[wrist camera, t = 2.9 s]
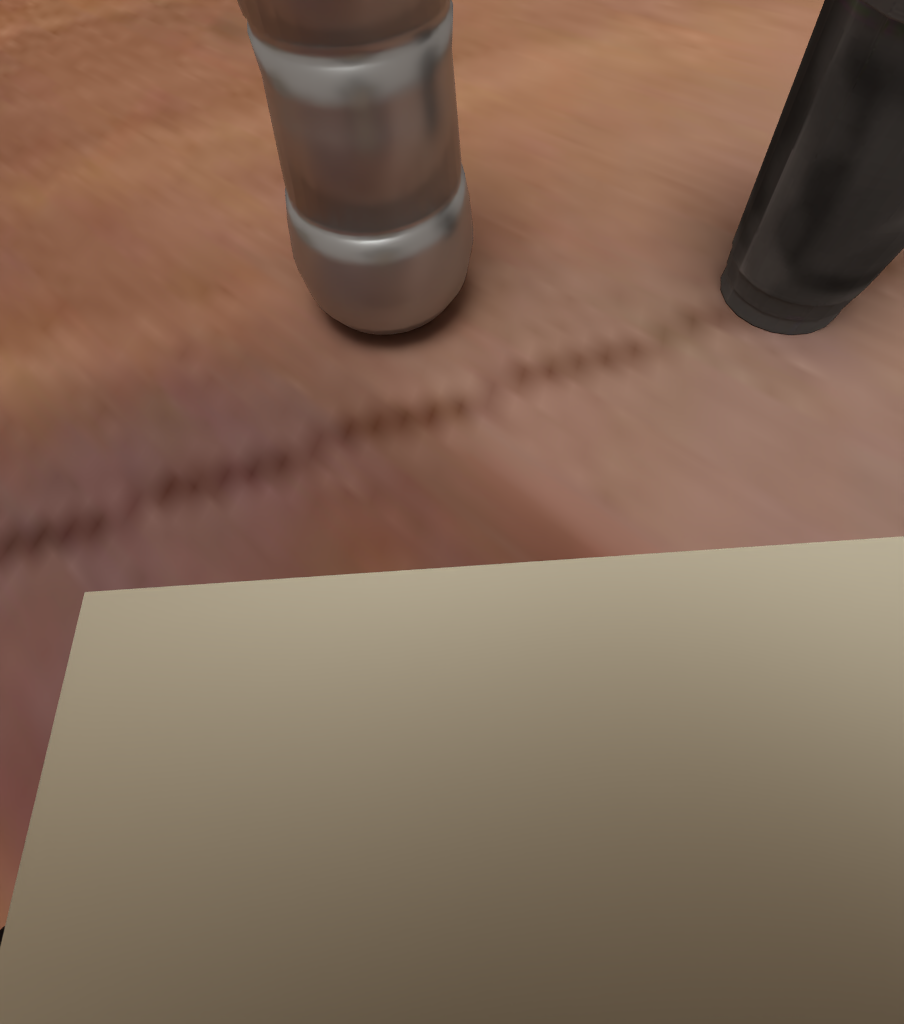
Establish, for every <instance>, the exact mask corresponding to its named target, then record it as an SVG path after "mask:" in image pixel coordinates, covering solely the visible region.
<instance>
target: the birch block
mask: <svg viewBox="0 0 904 1024" xmlns="http://www.w3.org/2000/svg"><path fill="white" fill-rule="evenodd" d="M0 1024H904V537H889V538H874V539H860V540H845V541H830V542H816V543H801V544H786V545H772V546H757V547H742V548H728V549H713V550H698V551H683V552H669V553H654V554H639V555H625V556H610V557H595V558H581V559H566V560H551V561H537V562H522V563H507V564H493V565H478V566H463V567H449V568H434V569H419V570H405V571H390V572H375V573H361V574H346V575H331V576H316V577H302V578H287V579H272V580H258V581H243V582H228V583H214V584H199V585H184V586H170V587H155V588H140V589H126V590H111V591H96V592H85V593H84V598H83V602H82V606H81V610H80V614H79V619H78V623H77V627H76V631H75V635H74V640H73V644H72V648H71V652H70V656H69V661H68V665H67V669H66V673H65V677H64V682H63V686H62V690H61V694H60V698H59V703H58V707H57V711H56V715H55V719H54V724H53V728H52V732H51V736H50V740H49V745H48V749H47V753H46V757H45V761H44V766H43V770H42V774H41V778H40V782H39V787H38V791H37V795H36V799H35V803H34V808H33V812H32V816H31V820H30V824H29V829H28V833H27V837H26V841H25V845H24V850H23V854H22V858H21V862H20V866H19V871H18V875H17V879H16V883H15V887H14V892H13V896H12V900H11V904H10V908H9V912H8V917H7V921H6V925H5V929H4V933H3V938H2V942H1V946H0Z"/></svg>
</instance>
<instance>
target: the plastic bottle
mask: <svg viewBox="0 0 904 1024" xmlns="http://www.w3.org/2000/svg"><path fill="white" fill-rule="evenodd" d="M237 1H238V4H239V7H240V9H241V11H242V14H243V16H244V17H245V18H246V19H247V27H248V35H249V38H250V41H251V44H252V47H253V50H254V53H255V56H256V59H257V62H258V65H259V68H260V71H261V74H262V79H263V84H264V89H265V93H266V98H267V103H268V107H269V112H270V117H271V122H272V126H273V131H274V136H275V141H276V145H277V150H278V155H279V160H280V164H281V169H282V174H283V179H284V183H285V196H286V209H287V222H288V228H289V234H290V240H291V246H292V252H293V257H294V260H295V263H296V266H297V268H298V270H299V272H300V274H301V276H302V278H303V280H304V282H305V284H306V285H307V287H308V289H309V291H310V293H311V295H312V297H313V298H314V300H315V301H316V302H317V304H318V305H319V307H320V308H321V309H323V310H324V311H325V312H326V313H327V314H328V315H330V316H331V317H333V318H334V319H336V320H338V321H339V322H341V323H343V324H344V325H346V326H348V327H350V328H352V329H354V330H358V331H361V332H364V333H370V334H377V335H386V334H397V333H403V332H407V331H410V330H413V329H416V328H419V327H421V326H423V325H425V324H427V323H428V322H430V321H432V320H433V319H434V318H436V317H437V316H438V315H439V314H441V312H442V311H443V310H444V309H445V308H446V307H447V306H448V305H449V303H450V302H451V301H452V300H453V299H454V298H455V297H456V295H457V294H458V293H459V291H460V289H461V287H462V285H463V284H464V281H465V277H466V274H467V269H468V264H469V259H470V254H471V249H472V244H473V223H472V215H471V207H470V198H469V192H468V187H467V182H466V178H465V173H464V170H463V166H462V163H461V151H460V139H459V127H458V115H457V103H456V91H455V79H454V67H453V55H452V25H453V3H452V1H451V0H237Z"/></svg>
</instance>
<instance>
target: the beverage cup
mask: <svg viewBox="0 0 904 1024" xmlns="http://www.w3.org/2000/svg"><path fill="white" fill-rule="evenodd" d="M903 248H904V0H825V1H824V4H823V6H822V9H821V12H820V14H819V17H818V19H817V22H816V25H815V27H814V30H813V33H812V35H811V38H810V40H809V43H808V46H807V48H806V51H805V53H804V56H803V59H802V61H801V64H800V67H799V69H798V72H797V74H796V77H795V80H794V82H793V85H792V88H791V90H790V93H789V95H788V98H787V101H786V103H785V106H784V108H783V111H782V114H781V116H780V119H779V122H778V124H777V127H776V129H775V132H774V135H773V137H772V140H771V143H770V145H769V148H768V150H767V153H766V156H765V158H764V161H763V163H762V166H761V169H760V171H759V174H758V177H757V179H756V182H755V184H754V187H753V190H752V192H751V195H750V197H749V200H748V203H747V205H746V208H745V211H744V213H743V216H742V218H741V221H740V224H739V226H738V229H737V232H736V234H735V237H734V239H733V242H732V249H731V252H730V255H729V258H728V261H727V266H726V268H725V270H724V272H723V274H722V276H721V292H722V294H723V296H724V298H725V301H726V303H727V304H728V305H729V306H730V307H731V308H732V310H733V311H734V312H735V313H736V314H737V315H738V316H740V317H741V318H743V319H744V320H746V321H748V322H749V323H751V324H752V325H754V326H757V327H760V328H762V329H765V330H768V331H771V332H776V333H783V334H790V335H793V334H804V333H811V332H813V331H816V330H819V329H821V328H824V327H826V326H827V325H828V324H829V323H830V322H831V321H832V320H833V319H834V318H835V317H836V316H837V315H838V314H839V312H840V311H841V310H842V309H843V308H844V307H845V306H846V305H847V304H848V303H849V302H850V301H851V300H852V299H853V298H855V297H856V296H857V295H859V294H860V293H861V292H862V291H863V290H864V289H865V288H866V287H867V286H868V285H869V284H870V283H871V282H872V281H873V280H874V279H875V278H876V277H877V276H878V275H879V274H880V273H881V271H882V270H883V269H884V268H885V267H886V266H887V265H888V264H889V263H890V262H891V261H892V260H893V259H894V258H895V257H896V256H897V255H898V253H899V252H900V251H901V250H902V249H903Z"/></svg>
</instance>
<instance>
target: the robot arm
mask: <svg viewBox="0 0 904 1024" xmlns="http://www.w3.org/2000/svg"><path fill="white" fill-rule="evenodd" d="M4 929H5V926H4V927H3V928H2V929H0V946H1V942H2V938H3V933H4Z"/></svg>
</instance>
